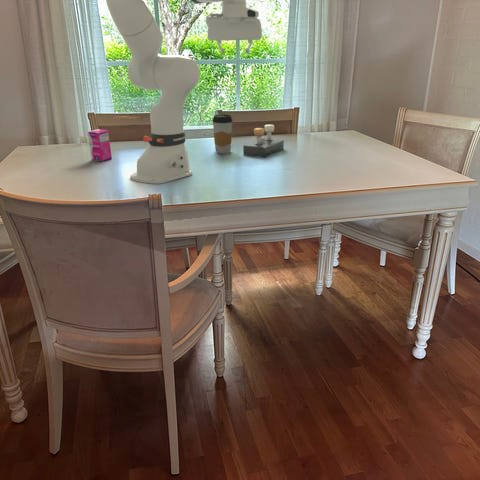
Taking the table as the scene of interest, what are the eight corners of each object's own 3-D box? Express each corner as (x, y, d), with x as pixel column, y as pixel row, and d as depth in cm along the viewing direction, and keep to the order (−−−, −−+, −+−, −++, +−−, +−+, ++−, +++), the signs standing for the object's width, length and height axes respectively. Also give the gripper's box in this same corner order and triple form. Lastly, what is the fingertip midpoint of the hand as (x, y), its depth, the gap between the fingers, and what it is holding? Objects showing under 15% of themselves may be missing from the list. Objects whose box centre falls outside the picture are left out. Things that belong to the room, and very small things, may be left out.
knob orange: (260, 146, 182) (261, 130, 179) (252, 145, 183) (252, 129, 181) (265, 144, 185) (265, 128, 182) (256, 143, 187) (257, 127, 184)
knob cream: (271, 142, 189) (271, 126, 186) (262, 141, 190) (262, 125, 188) (275, 140, 192) (275, 125, 189) (267, 139, 194) (267, 124, 191)
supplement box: (91, 160, 178) (86, 131, 173) (101, 157, 182) (97, 128, 178) (102, 162, 175) (98, 132, 170) (112, 158, 180) (108, 130, 175)
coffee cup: (234, 149, 193) (233, 114, 187) (231, 154, 185) (231, 117, 179) (214, 149, 194) (213, 114, 188) (211, 154, 186) (210, 117, 180)
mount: (264, 157, 180) (265, 147, 178) (243, 154, 185) (243, 145, 183) (283, 149, 193) (283, 140, 192) (263, 146, 198) (263, 137, 196)
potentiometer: (262, 143, 187) (262, 134, 185) (257, 142, 188) (257, 134, 186) (264, 141, 189) (264, 133, 187) (259, 141, 190) (259, 133, 188)
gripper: (206, 12, 160) (208, 54, 166) (262, 12, 162) (262, 53, 168) (205, 13, 166) (207, 53, 171) (259, 12, 168) (259, 52, 174)
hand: (234, 53), depth 170 cm, fingers open, 8 cm apart
